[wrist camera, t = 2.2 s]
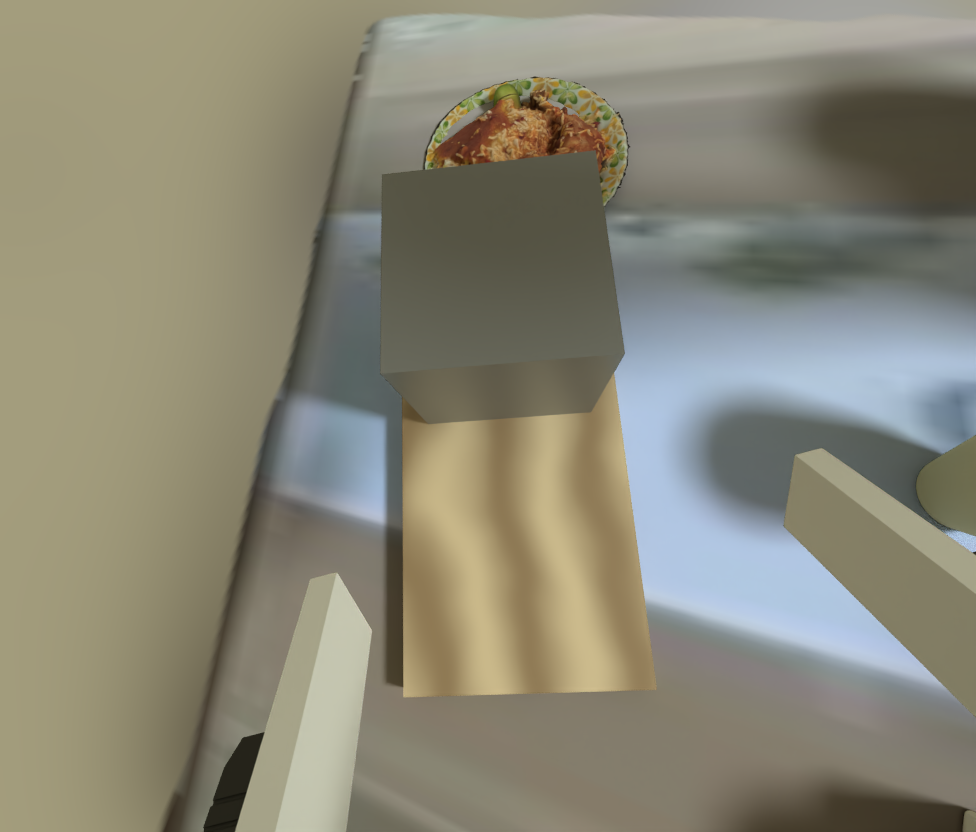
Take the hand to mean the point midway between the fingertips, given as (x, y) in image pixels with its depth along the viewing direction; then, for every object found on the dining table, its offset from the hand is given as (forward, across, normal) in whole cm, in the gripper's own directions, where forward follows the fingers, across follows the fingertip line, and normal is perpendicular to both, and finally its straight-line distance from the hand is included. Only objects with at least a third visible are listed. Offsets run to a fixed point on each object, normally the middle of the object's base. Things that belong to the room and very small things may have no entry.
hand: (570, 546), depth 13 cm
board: (+18, 0, -9) cm, 20 cm away
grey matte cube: (+23, +1, -2) cm, 23 cm away
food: (+36, +7, +9) cm, 38 cm away
